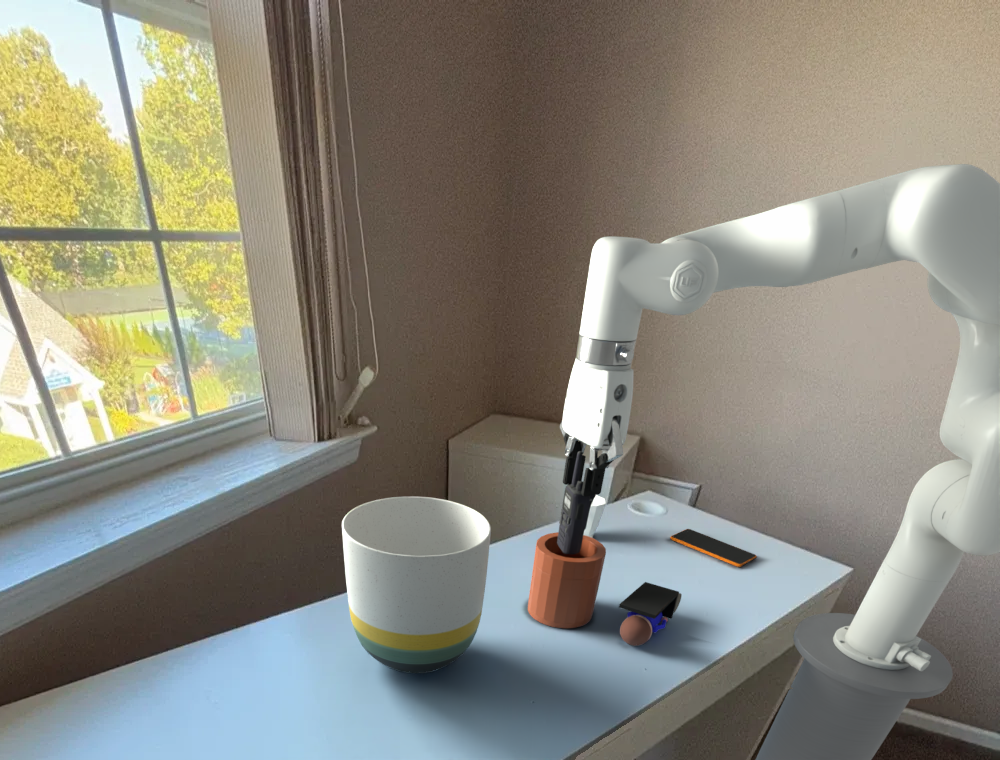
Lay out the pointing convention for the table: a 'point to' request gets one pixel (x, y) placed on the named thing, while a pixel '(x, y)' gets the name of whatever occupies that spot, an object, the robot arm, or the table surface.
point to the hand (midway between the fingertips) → (581, 487)
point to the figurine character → (647, 612)
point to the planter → (415, 579)
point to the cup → (594, 516)
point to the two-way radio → (574, 513)
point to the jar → (565, 582)
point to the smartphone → (713, 547)
